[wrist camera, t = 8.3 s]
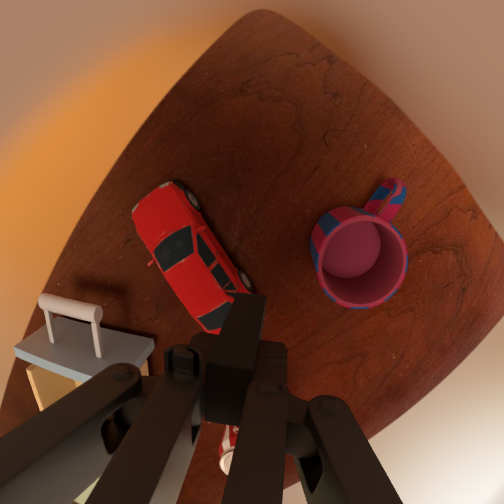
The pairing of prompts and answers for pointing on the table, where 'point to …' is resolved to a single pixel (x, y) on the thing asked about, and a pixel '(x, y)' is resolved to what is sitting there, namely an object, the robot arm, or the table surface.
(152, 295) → the table surface
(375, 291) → the cup
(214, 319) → the toy car
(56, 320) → the drawer
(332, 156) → the table surface
